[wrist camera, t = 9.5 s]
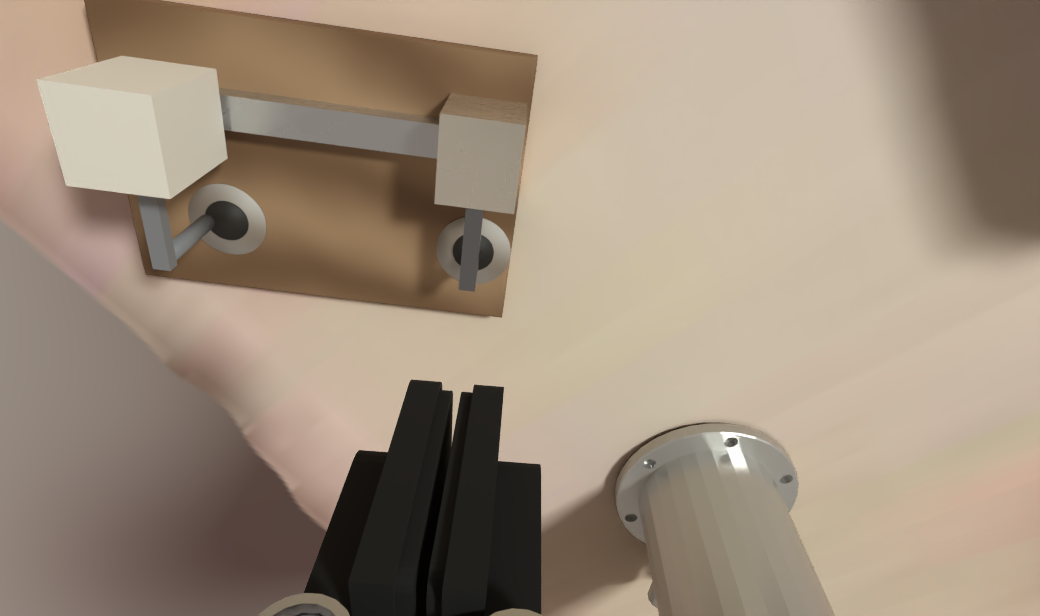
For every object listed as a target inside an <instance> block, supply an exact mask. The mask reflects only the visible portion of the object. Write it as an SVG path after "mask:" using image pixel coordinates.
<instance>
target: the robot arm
mask: <svg viewBox="0 0 1040 616" xmlns="http://www.w3.org/2000/svg"><path fill="white" fill-rule="evenodd" d="M503 392H504V387H496V386H483V385H474V388H473V393H470V392H462V393H461V397H460V403H459V408H458V414H457V419H456V425H455V430H454V436H453V441H452V407H453V392H452V391H445V390H442V383H441V382H434V381H421V380H411V381H410V383H409V386H408V389H407V392H406V395H405V399H404V402H403V405H402V408H401V412H400V415H399V418H398V421H397V425H396V428H395V431H394V434H393V438H392V441H391V444H390V447H389V451H388V452H375V451H363V450H359V451H358V452H357V453H356V455H355V458H354V460H353V462H352V465H351V467H350V470H349V473H348V476H347V478H346V481H345V484H344V486H343V489H342V492H341V494H340V497H339V500H338V502H337V505H336V508H335V510H334V513H333V516H332V519H331V521H330V524H329V527H328V529H327V532H326V535H325V537H324V540H323V543H322V545H321V548H320V551H319V554H318V556H317V559H316V562H315V564H314V567H313V570H312V573H311V575H310V578H309V581H308V583H307V586H306V588H305V591H304V593H303V594H298V595H293V596H289V597H286V598H284V599H282V600H280V601H278V602H276V603H274V604H272V605H270V606H269V607H268V608H267V609H265V610H264V611H263V612H262V613H260V614H259V615H258V616H543V615H541V466H540V464H527V463H515V462H502V461H498V453H499V441H500V428H501V416H502V404H503ZM451 444H452V447H451ZM798 486H799V483H798V477H797V472H796V470H795V467H794V465H793V463H792V461H791V459H790V457H789V455H788V454H787V453H786V451H785V450H784V448H783V447H782V446H781V445H780V444H778V443H777V442H776V441H775V440H774V439H773V438H771V437H769V436H767V435H765V434H764V433H762V432H760V431H757V430H754V429H751V428H748V427H745V426H740V425H733V424H724V423H708V424H700V425H693V426H688V427H684V428H681V429H677V430H674V431H671V432H669V433H666V434H664V435H662V436H659V437H657V438H655V439H654V440H652V441H650V442H649V443H647V444H646V445H644V446H642V447H641V448H640V449H639V450H638V451H637V452H636V453H635V454H633V455H632V456H631V457H630V458H629V460H628V461H627V462H626V464H625V465H624V466H623V468H622V470H621V472H620V474H619V476H618V478H617V482H616V488H615V498H616V507H617V511H618V515H619V518H620V519H621V521H622V523H623V525H624V526H625V528H626V529H627V530H628V531H629V532H630V533H631V534H632V535H633V536H634V537H636V538H637V539H639V540H640V541H642V542H643V543H645V544H646V548H647V553H648V559H649V564H650V569H651V575H652V580H653V581H652V584H651V586H650V589H649V591H648V599H649V601H650V602H651V604H652V605H654V606H655V607H656V608H658V612H659V616H835V614H834V612H833V610H832V607H831V605H830V603H829V601H828V599H827V596H826V594H825V592H824V590H823V587H822V585H821V583H820V581H819V578H818V576H817V574H816V572H815V570H814V567H813V565H812V563H811V561H810V558H809V556H808V554H807V552H806V549H805V547H804V545H803V543H802V541H801V538H800V536H799V534H798V532H797V529H796V527H795V525H794V523H793V520H792V518H791V516H790V514H789V512H790V510H791V509H792V507H793V505H794V502H795V500H796V497H797V493H798Z"/></svg>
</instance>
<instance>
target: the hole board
mask: <svg viewBox="0 0 1040 616" xmlns="http://www.w3.org/2000/svg"><path fill="white" fill-rule="evenodd" d="M84 2H85V7H86V11H87V15H88V20H89V24H90V29H91V33H92V38H93V42H94V47H95V51H96V55H97V60H98V62H101V61H104V60H108V59H112V58H115V57H119V56H128V57H135V58H142V59H149V60H157V61H164V62H171V63H178V64H185V65H192V66H199V67H207V68H214V69H216V71H217V79H218V87H220V88H228V89H235V90H242V91H249V92H256V93H264V94H271V95H278V96H285V97H293V98H300V99H307V100H314V101H321V102H329V103H336V104H343V105H350V106H357V107H365V108H372V109H379V110H386V111H394V112H401V113H408V114H415V115H422V116H430V117H437V118H440V112H441V110H442V108H443V107H444V105H445V103H446V101H447V99H448V97H449V95H450V94H451V93H452V94H459V95H467V96H474V97H481V98H488V99H495V100H502V101H509V102H516V103H523V104H527V119H526V131H525V138H524V146H523V153H522V160H521V168H520V175H519V182H518V190H517V197H516V204H515V212H514V214H508V213H501V212H493V211H485V210H484V213H483V222H482V232H481V241H480V251H481V255H480V261H479V267H478V273H477V279H476V287H475V292H472V291H464V290H458V289H459V278H460V267H461V256H462V245H463V234H464V223H465V212H466V208H462V207H455V206H447V205H439V204H434V202H435V186H436V169H437V159H435V158H428V157H420V156H413V155H406V154H398V153H391V152H383V151H376V150H369V149H361V148H354V147H346V146H339V145H331V144H324V143H317V142H309V141H302V140H294V139H287V138H280V137H272V136H265V135H257V134H250V133H242V132H235V131H228V130H224V133H225V141H226V149H227V157H228V158H227V159H226V160H225V161H223V162H222V163H220V164H219V165H218V166H216V167H215V168H213V169H212V170H211V171H209V172H208V173H206V174H205V175H204V176H202V177H201V178H199V179H198V180H197V181H195V182H194V183H192V184H191V185H190V186H188V187H187V188H185V189H184V190H183V191H181V192H180V193H178V194H177V195H176V196H174V197H173V198H171V199H165V203H166V208H167V213H168V219H169V224H170V229H171V234H172V239H174V238H175V237H176V236H177V235H179V234H180V233H181V232H182V231H183V230H185V229H186V228H187V227H188V226H189V225H191V224H192V223H193V222H194V221H195V220H197V219H198V218H199V217H200V216H201V215H204V214H206V215H210V216H211V217H212V218H213V219H214V220H215V226H214V227H213V228H212V229H211V230H210V231H209V232H208V233H207V234H206V235H204V236H203V237H202V238H201V239H200V240H199V241H198V242H197V243H196V244H194V245H193V246H192V247H191V248H190V249H189V250H188V251H187V252H186V253H184V254H183V255H182V256H181V257H180V258H179V259H178V260H177V266H176V267H175V268H174V269H172V270H171V271H166V270H158V269H153V267H152V263H151V258H150V254H149V249H148V244H147V240H146V235H145V231H144V226H143V221H142V217H141V212H140V208H139V203H138V198H137V195H134V194H128V197H129V202H130V206H131V211H132V215H133V220H134V224H135V229H136V233H137V237H138V242H139V246H140V251H141V255H142V260H143V264H144V268H145V273H146V274H148V275H156V276H164V277H172V278H181V279H189V280H197V281H205V282H214V283H222V284H230V285H238V286H247V287H255V288H263V289H271V290H279V291H288V292H296V293H304V294H312V295H321V296H329V297H337V298H345V299H354V300H362V301H370V302H378V303H387V304H395V305H403V306H411V307H419V308H428V309H436V310H444V311H452V312H461V313H469V314H477V315H485V316H494V317H502V313H503V306H504V298H505V291H506V284H507V277H508V269H509V262H510V255H511V248H512V241H513V233H514V226H515V219H516V212H517V204H518V197H519V190H520V183H521V175H522V168H523V161H524V154H525V146H526V139H527V132H528V125H529V117H530V110H531V103H532V96H533V88H534V81H535V74H536V67H537V55H533V54H526V53H519V52H512V51H505V50H498V49H491V48H484V47H478V46H471V45H464V44H457V43H450V42H443V41H436V40H429V39H423V38H416V37H409V36H402V35H395V34H388V33H381V32H374V31H368V30H361V29H354V28H347V27H340V26H333V25H326V24H319V23H312V22H306V21H299V20H292V19H285V18H278V17H271V16H264V15H257V14H251V13H244V12H237V11H230V10H223V9H216V8H209V7H202V6H196V5H189V4H182V3H175V2H168V1H161V0H84Z"/></svg>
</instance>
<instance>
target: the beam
mask: <svg viewBox="0 0 1040 616" xmlns="http://www.w3.org/2000/svg"><path fill="white" fill-rule="evenodd" d="M219 94H220V102H221V110H222V118H223V126H224V130H228V131H235V132H242V133H250V134H257V135H265V136H272V137H280V138H287V139H294V140H302V141H309V142H317V143H324V144H331V145H339V146H346V147H354V148H361V149H369V150H376V151H383V152H391V153H398V154H406V155H413V156H420V157H428V158H435V159H437V169H436V186H435V202H434V204H439V205H447V206H455V207H462V208H466V212H465V223H464V234H463V245H462V256H461V267H460V278H459V289H458V290H464V291H472V292H475V287H476V279H477V273H478V267H479V261H480V255H481V251H480V241H481V232H482V222H483V213H484V210H485V211H493V212H501V213H508V214H514V212H515V204H516V197H517V190H518V182H519V175H520V168H521V160H522V153H523V146H524V138H525V131H526V119H527V104H523V103H516V102H509V101H502V100H495V99H488V98H481V97H474V96H467V95H459V94H452V93H451V94H450V95H449V97H448V99H447V101H446V103H445V105H444V107H443V108H442V110H441V112H440V118H437V117H430V116H422V115H415V114H408V113H401V112H394V111H386V110H379V109H372V108H365V107H357V106H350V105H343V104H336V103H329V102H321V101H314V100H307V99H300V98H293V97H285V96H278V95H271V94H264V93H256V92H249V91H242V90H235V89H228V88H220V87H219Z"/></svg>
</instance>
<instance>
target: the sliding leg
mask: <svg viewBox="0 0 1040 616" xmlns="http://www.w3.org/2000/svg"><path fill="white" fill-rule="evenodd" d="M36 80H37V83H38V87H39V90H40V94H41V98H42V101H43V105H44V108H45V112H46V115H47V119H48V123H49V126H50V130H51V133H52V137H53V140H54V144H55V148H56V151H57V155H58V158H59V162H60V165H61V169H62V173H63V176H64V180H65V183H66V186H72V187H79V188H87V189H95V190H103V191H111V192H118V193H126V194H134V195H137V198H138V203H139V208H140V212H141V217H142V221H143V226H144V231H145V235H146V240H147V244H148V249H149V254H150V258H151V263H152V267H153V269H158V270H166V271H171V270H172V269H174V268H175V267H176V266H177V260H178V259H179V258H180V257H181V256H182V255H183V254H184V253H186V252H187V251H188V250H189V249H190V248H191V247H192V246H193V245H194V244H196V243H197V242H198V241H199V240H200V239H201V238H202V237H203V236H204V235H206V234H207V233H208V232H209V231H210V230H211V229H212V228H213V227H214V226H215V220H214V219H213V218H212V217H211V216H210V215H206V214H204V215H201V216H200V217H199V218H198V219H197V220H195V221H194V222H193V223H192V224H191V225H189V226H188V227H187V228H186V229H185V230H183V231H182V232H181V233H180V234H179V235H177V236H176V237H175V238H174V239H172V234H171V229H170V224H169V219H168V213H167V208H166V203H165V199H171V198H173V197H174V196H176V195H177V194H178V193H180V192H181V191H183V190H184V189H185V188H187V187H188V186H190V185H191V184H192V183H194V182H195V181H197V180H198V179H199V178H201V177H202V176H204V175H205V174H206V173H208V172H209V171H211V170H212V169H213V168H215V167H216V166H218V165H219V164H220V163H222V162H223V161H225V160H226V159H227V158H228V157H227V149H226V141H225V133H224V126H223V118H222V110H221V102H220V94H219V87H218V79H217V71H216V69H214V68H207V67H199V66H192V65H185V64H178V63H171V62H164V61H157V60H149V59H142V58H135V57H128V56H119V57H115V58H112V59H108V60H104V61H101V62H97V63H94V64H90V65H87V66H83V67H79V68H76V69H72V70H69V71H65V72H62V73H58V74H54V75H51V76H47V77H44V78H40V79H36Z"/></svg>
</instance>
